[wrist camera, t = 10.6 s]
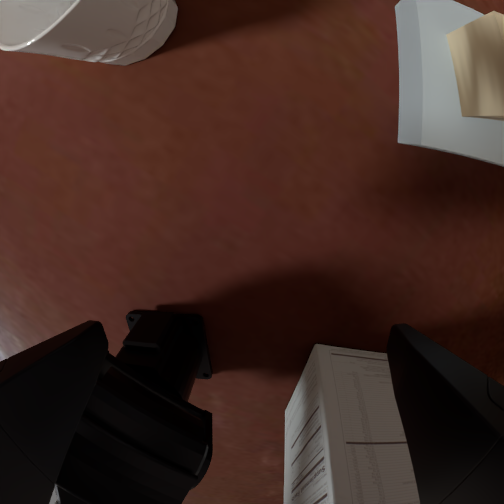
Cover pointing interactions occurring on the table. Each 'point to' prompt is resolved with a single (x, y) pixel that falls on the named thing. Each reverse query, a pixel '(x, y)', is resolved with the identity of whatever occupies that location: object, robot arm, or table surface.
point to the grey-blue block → (438, 84)
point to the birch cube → (480, 66)
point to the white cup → (87, 28)
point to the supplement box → (346, 433)
